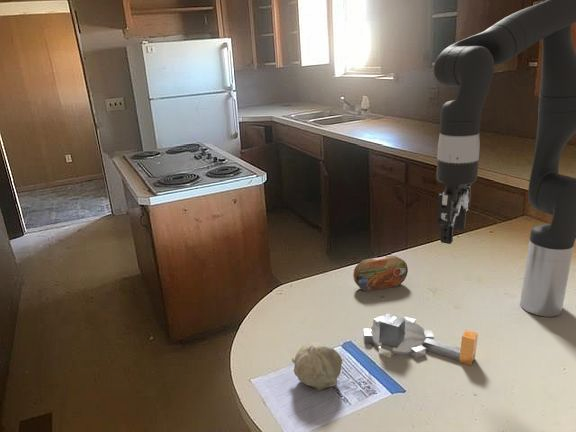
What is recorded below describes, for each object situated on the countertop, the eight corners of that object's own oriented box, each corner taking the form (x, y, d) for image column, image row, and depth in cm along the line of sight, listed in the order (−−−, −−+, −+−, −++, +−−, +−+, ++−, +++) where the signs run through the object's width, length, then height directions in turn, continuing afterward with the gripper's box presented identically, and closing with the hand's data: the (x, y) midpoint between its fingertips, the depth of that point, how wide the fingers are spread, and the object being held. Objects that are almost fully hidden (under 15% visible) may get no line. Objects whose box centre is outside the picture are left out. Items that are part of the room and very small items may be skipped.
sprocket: (381, 317, 117) (381, 309, 116) (440, 334, 109) (441, 326, 109) (353, 347, 105) (353, 338, 105) (417, 368, 98) (418, 359, 97)
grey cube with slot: (386, 333, 106) (387, 312, 105) (404, 338, 104) (405, 317, 103) (379, 342, 103) (380, 321, 102) (397, 348, 101) (398, 326, 99)
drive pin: (426, 343, 105) (428, 319, 103) (474, 358, 100) (478, 333, 98) (422, 350, 103) (424, 325, 101) (471, 365, 98) (474, 339, 96)
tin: (356, 293, 129) (356, 264, 126) (351, 288, 132) (352, 259, 129) (407, 285, 132) (409, 256, 130) (402, 280, 135) (403, 252, 133)
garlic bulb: (339, 393, 95) (358, 355, 91) (309, 408, 89) (328, 368, 85) (308, 360, 100) (324, 323, 96) (278, 372, 95) (294, 333, 91)
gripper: (467, 167, 86) (461, 251, 91) (487, 150, 96) (481, 226, 102) (425, 163, 90) (422, 244, 95) (449, 147, 101) (445, 221, 106)
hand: (452, 235), depth 99 cm, fingers open, 8 cm apart
